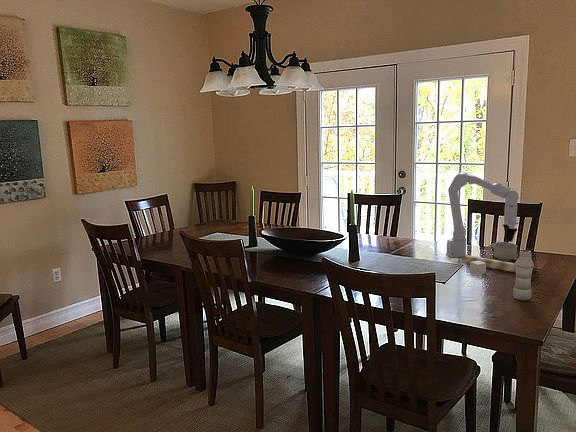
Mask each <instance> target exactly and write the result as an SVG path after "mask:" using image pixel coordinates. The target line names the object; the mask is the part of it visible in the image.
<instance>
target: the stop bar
mask: <svg viewBox="0 0 576 432" xmlns="http://www.w3.org/2000/svg"><path fill="white" fill-rule="evenodd" d="M472 261H481V262H484V263H486V268H491V269H494V270H495V269H497V270H502V271H507V272H512V273H516V267H515V263H516V262H510V261H502V260H499V259H491V258H485V257H479V256H474V255H469V254H466V255H462V257H461V263H463V264H467V265H468V264H469V265H470V262H472Z"/></svg>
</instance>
